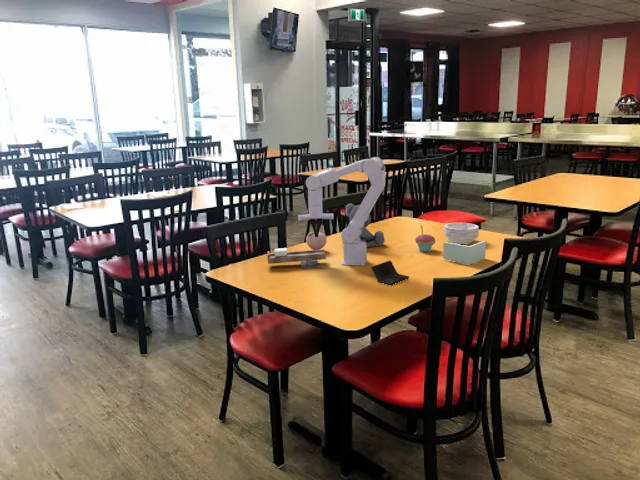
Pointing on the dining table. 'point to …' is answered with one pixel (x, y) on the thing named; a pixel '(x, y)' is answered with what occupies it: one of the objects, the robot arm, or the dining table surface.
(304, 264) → the fulcrum stand
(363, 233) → the koala plush
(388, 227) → the dining table surface
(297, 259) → the beam
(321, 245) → the decorative fruit
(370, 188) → the robot arm
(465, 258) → the pale blue squat box
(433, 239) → the cupcake
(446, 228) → the paper bowls
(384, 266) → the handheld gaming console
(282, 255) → the block
